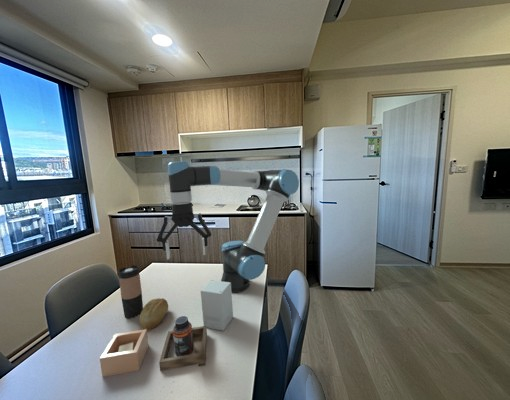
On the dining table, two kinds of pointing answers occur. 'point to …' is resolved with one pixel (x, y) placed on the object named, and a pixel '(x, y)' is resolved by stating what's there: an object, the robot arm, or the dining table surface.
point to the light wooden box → (124, 353)
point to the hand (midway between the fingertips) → (186, 256)
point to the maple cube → (126, 347)
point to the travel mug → (131, 291)
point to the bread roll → (153, 313)
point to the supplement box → (217, 304)
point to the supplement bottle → (183, 336)
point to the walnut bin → (186, 360)
